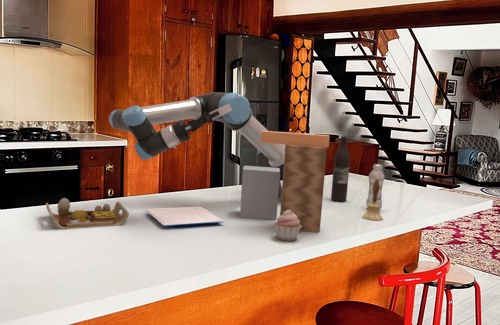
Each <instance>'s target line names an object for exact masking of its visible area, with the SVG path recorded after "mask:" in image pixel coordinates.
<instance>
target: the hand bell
mask: <svg viewBox="0 0 500 325" xmlns="http://www.w3.org/2000/svg"><path fill="white" fill-rule="evenodd" d="M378 192H379V180H377V179H376V180H375V182H374V184H373V200H372V203H371V204H369V205H368V208H367V207H366V208H367V209H366V210H365V213H363V215H362V218H363V219H365V220H368V221H378V222H379V221H383V220H384V218H383V216H382V215H381V212H380V210H381V209H379V205H377V204H376V201H377V194H378Z"/></svg>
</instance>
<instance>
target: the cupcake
mask: <svg viewBox="0 0 500 325" xmlns="http://www.w3.org/2000/svg"><path fill="white" fill-rule="evenodd" d="M273 226H274V228H275V231H276V238H277V239H278V240H280V241H284V242H293V241H296V240H297V238H298V234H299V230H300V228H301V227H302V225H300V221H299V219H298V217H297V216H296V215H295V214H294V213H293V212H291V210H287V211H285V212H284V213H283V214H282V215H281V216H280V215H279V216H278V217H277V220H276V221H275V223H273Z"/></svg>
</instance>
